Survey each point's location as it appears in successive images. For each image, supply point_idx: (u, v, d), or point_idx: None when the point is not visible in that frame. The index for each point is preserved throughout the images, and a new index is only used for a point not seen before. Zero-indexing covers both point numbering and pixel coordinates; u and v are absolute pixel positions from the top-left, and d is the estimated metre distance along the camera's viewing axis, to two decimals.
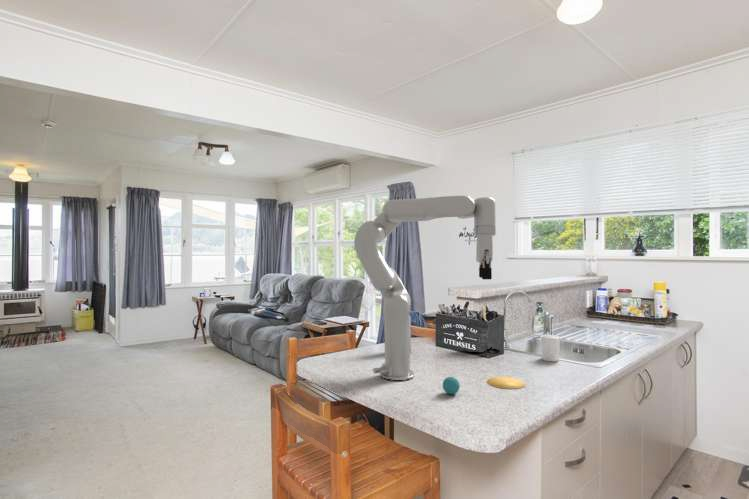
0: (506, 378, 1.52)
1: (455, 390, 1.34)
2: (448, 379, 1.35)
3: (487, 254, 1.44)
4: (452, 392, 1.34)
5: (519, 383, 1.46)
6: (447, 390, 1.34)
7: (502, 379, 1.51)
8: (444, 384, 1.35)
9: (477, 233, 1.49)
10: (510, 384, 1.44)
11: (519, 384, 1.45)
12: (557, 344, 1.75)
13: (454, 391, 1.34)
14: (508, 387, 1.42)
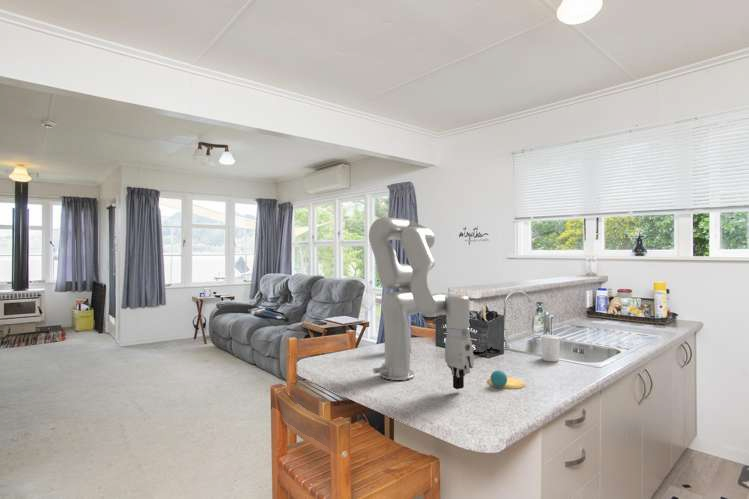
0: None
1: (503, 383, 1.41)
2: (499, 371, 1.43)
3: None
4: (500, 384, 1.41)
5: (519, 383, 1.46)
6: (495, 380, 1.41)
7: None
8: (494, 374, 1.42)
9: None
10: (510, 384, 1.44)
11: (519, 384, 1.45)
12: (557, 344, 1.75)
13: (501, 383, 1.41)
14: (508, 387, 1.42)
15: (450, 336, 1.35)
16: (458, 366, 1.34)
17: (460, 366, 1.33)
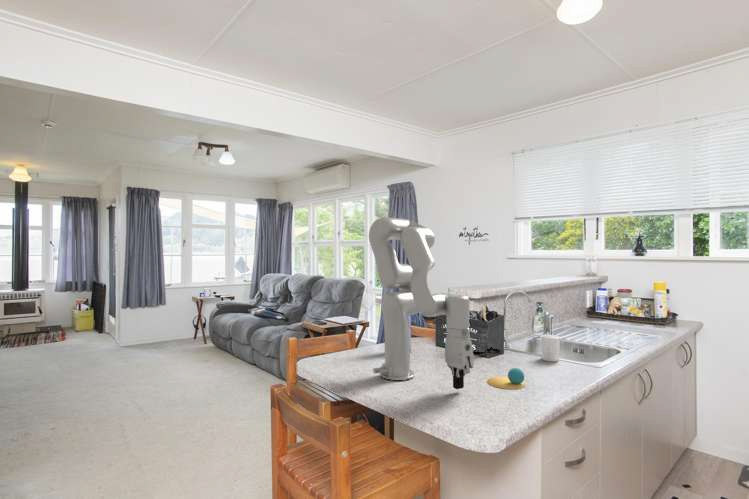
0: (506, 378, 1.52)
1: (520, 375, 1.43)
2: None
3: None
4: (521, 372, 1.44)
5: None
6: (523, 373, 1.45)
7: (502, 379, 1.51)
8: None
9: None
10: (510, 384, 1.44)
11: (519, 384, 1.45)
12: (557, 344, 1.75)
13: (521, 374, 1.44)
14: (508, 387, 1.42)
15: (450, 336, 1.35)
16: (458, 366, 1.34)
17: (460, 366, 1.33)
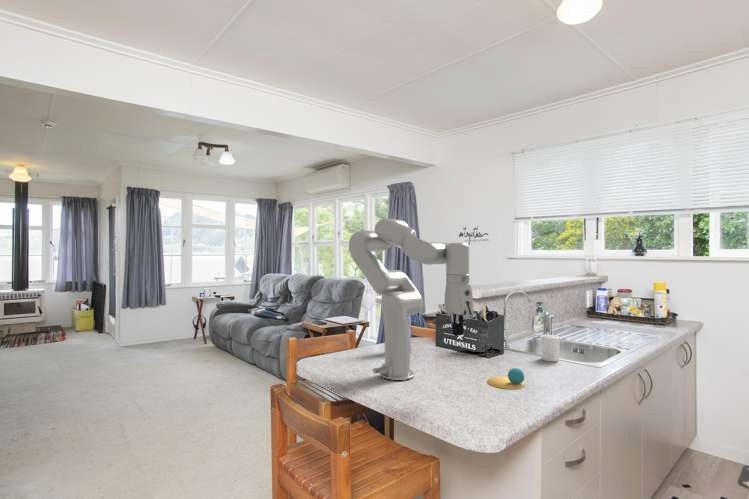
0: (506, 378, 1.52)
1: (520, 375, 1.43)
2: None
3: None
4: (521, 372, 1.44)
5: None
6: (523, 373, 1.45)
7: (502, 379, 1.51)
8: None
9: None
10: (510, 384, 1.44)
11: (519, 384, 1.45)
12: (557, 344, 1.75)
13: (521, 374, 1.44)
14: (508, 387, 1.42)
15: (450, 282, 1.35)
16: (458, 312, 1.34)
17: (460, 311, 1.33)
